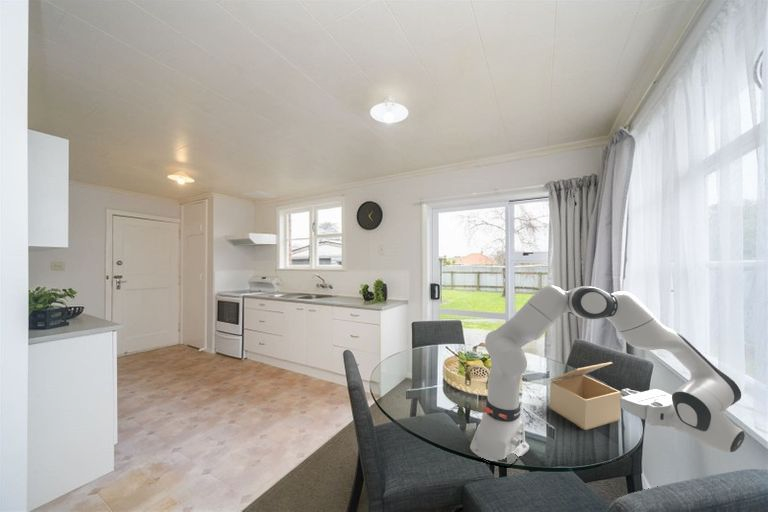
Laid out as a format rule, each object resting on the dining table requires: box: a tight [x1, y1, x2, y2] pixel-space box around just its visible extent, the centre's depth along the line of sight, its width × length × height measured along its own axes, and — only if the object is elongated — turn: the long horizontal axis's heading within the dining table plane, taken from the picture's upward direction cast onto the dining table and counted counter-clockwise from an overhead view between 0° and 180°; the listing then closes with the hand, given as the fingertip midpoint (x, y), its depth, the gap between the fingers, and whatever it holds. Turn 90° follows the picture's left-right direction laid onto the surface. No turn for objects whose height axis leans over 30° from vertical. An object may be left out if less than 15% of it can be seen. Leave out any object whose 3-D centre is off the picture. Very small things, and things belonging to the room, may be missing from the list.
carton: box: [549, 374, 622, 431], centre depth 125 cm, size 16×20×12 cm
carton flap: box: [549, 361, 613, 382], centre depth 126 cm, size 16×20×1 cm
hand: (623, 390), depth 110 cm, fingers closed
